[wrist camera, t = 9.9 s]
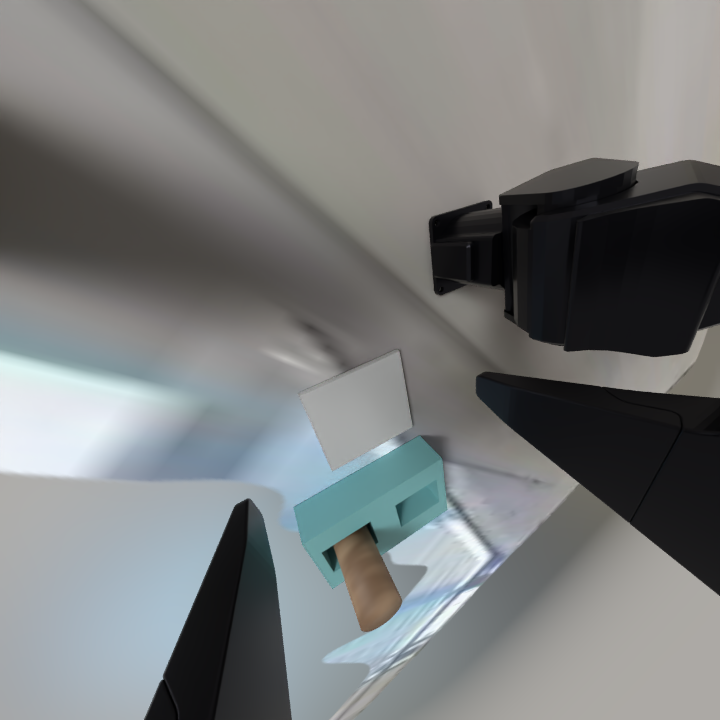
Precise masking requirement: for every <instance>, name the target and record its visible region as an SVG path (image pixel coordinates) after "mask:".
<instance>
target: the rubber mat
mask: <svg viewBox="0 0 720 720" xmlns="http://www.w3.org/2000/svg"><path fill="white" fill-rule="evenodd" d="M298 395H299V397H300V400H301V402H302V404H303V406H304V409H305V411H306V413H307V415H308V418H309V420H310V422H311V424H312V427H313V429H314V431H315V434H316V436H317V438H318V440H319V443H320V445H321V447H322V449H323V452H324V454H325V456H326V458H327V461H328V463H329V465H330V468H331V470H332V471H334V470H336V469H338V468H339V467H341V466H343V465H345V464H347V463H348V462H350V461H352V460H354V459H356V458H357V457H359V456H361V455H363V454H365V453H366V452H368V451H370V450H372V449H374V448H375V447H377V446H379V445H381V444H383V443H384V442H386V441H388V440H390V439H392V438H394V437H395V436H397V435H399V434H401V433H403V432H404V431H406V430H408V429H410V428H412V427H413V426H412V421H411V415H410V409H409V403H408V397H407V392H406V386H405V380H404V374H403V368H402V362H401V357H400V351H399V350H397V349H396V350H394V351H392V352H389V353H387V354H385V355H383V356H381V357H378V358H376V359H374V360H372V361H369V362H367V363H365V364H363V365H360V366H358V367H356V368H354V369H351V370H349V371H347V372H345V373H342V374H340V375H338V376H336V377H334V378H331V379H329V380H327V381H325V382H322V383H320V384H318V385H316V386H313V387H311V388H309V389H307V390H304V391H302V392H300V393H298Z"/></svg>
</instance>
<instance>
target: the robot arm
mask: <svg viewBox="0 0 720 720" xmlns="http://www.w3.org/2000/svg"><path fill="white" fill-rule="evenodd" d="M638 165H639V162H636V161H625V160H614V159H602V158H591V159H587V160H583V161H580V162H577V163H573V164H570V165H566V166H563V167H559V168H556V169H553V170H550V171H547V172H545V173H543V174H541V175H539V176H537V177H535V178H533V179H531V180H529V181H527V182H525V183H523V184H521V185H519V186H517V187H515V188H513V189H511V190H509V191H506V192H504V193H502V194H500V195H499V205H501V208H495V209H492V202H491V201H490V200H488V201H483V202H480V203H476V204H473V205H470V206H466V207H463V208H459V209H456V210H453V211H449V212H446V213H443V214H439V215H436V216H433V217H431V219H430V221H429V232H430V244H431V257H432V269H433V280H434V291H435V293H436V294H438V295H443V294H445V293H448V292H450V291H453V290H455V289H458V288H460V287H463V286H465V285H474V286H480V287H486V288H493V289H499V290H505V310H504V317H505V318H507V319H508V320H510V321H511V322H513V323H515V324H516V325H517V326H518V327H520V328H521V329H523V330H524V331H526V332H528V333H529V337H530V338H532V339H534V340H537V341H541V342H544V343H549V344H553V345H559V346H564V351H567V352H570V351H581V350H608V351H617V352H624V353H631V354H637V355H644V356H650V357H660V356H669V355H677V354H683V353H686V352H688V351H689V349H690V347H691V345H692V342H693V340H694V338H695V335H696V333H697V331H699V330H703V329H706V328H710V327H713V326H716V325H720V166H717V165H713V164H709V163H704V162H700V161H696V160H685V161H679V162H675V163H670V164H666V165H661V166H657V167H653V168H648V169H644V170H639V171H637V170H638ZM435 220H436V225H435ZM440 287H441V290H440V291H439V289H440ZM476 394H477V396H478V397H479V398H480V399H481V400H482V401H483V402H484V403H485V404H486V405H487V406H488V407H489V408H490V409H491V410H492V411H493V412H494V413H495V414H496V415H497V416H498V417H499V418H500V419H501V420H502V421H503V422H505V423H506V424H507V425H508V426H509V427H510V428H511V429H513V430H514V431H515V432H516V433H518V434H519V435H520V436H521V437H523V438H524V439H525V440H526V441H528V442H529V443H530V444H531V445H533V446H534V447H535V448H536V449H538V450H539V451H540V452H541V453H543V454H544V455H545V456H546V457H548V458H549V459H550V460H551V461H552V462H554V463H555V464H556V465H557V466H559V467H560V468H561V469H562V470H564V471H565V472H566V473H567V474H569V475H570V476H571V477H572V478H574V479H575V480H576V481H577V482H579V483H580V484H581V485H583V486H584V487H585V488H586V489H587V490H589V491H590V492H591V493H592V494H594V495H595V496H596V497H597V498H599V499H600V500H601V501H602V502H604V503H605V504H606V505H607V506H609V507H610V508H611V509H613V510H614V511H615V512H616V513H617V514H619V515H620V516H621V517H622V518H624V519H625V520H626V521H627V522H630V524H631V525H632V526H633V527H635V528H636V529H637V530H638V531H640V532H641V533H642V534H643V535H645V536H646V537H647V538H648V539H649V540H651V541H652V542H653V543H654V544H656V545H657V546H658V547H659V548H661V549H662V550H663V551H664V552H666V553H667V554H668V555H669V556H671V557H672V558H673V559H674V560H676V561H677V562H678V563H679V564H681V565H682V566H683V567H684V568H686V569H687V570H688V571H689V572H691V573H692V574H693V575H694V576H696V577H697V578H698V579H699V580H701V581H702V582H703V583H704V584H706V585H707V586H708V587H709V588H710V589H712V590H713V591H714V592H716V593H717V594H718V595H719V596H720V398H710V397H698V396H686V395H674V394H663V393H652V392H642V391H633V390H624V389H616V388H608V387H600V386H593V385H585V384H578V383H570V382H562V381H554V380H547V379H539V378H531V377H524V376H516V375H508V374H501V373H493V372H483V373H481V374H480V375H478V376H477V377H476ZM285 664H286V663H285V654H284V645H283V636H282V627H281V618H280V609H279V600H278V591H277V583H276V574H275V568H274V564H273V559H272V555H271V550H270V546H269V541H268V537H267V532H266V528H265V523H264V519H263V516H262V514H261V512H260V511H259V509H258V508H257V507H256V506H255V504H254V503H253V501H252V500H251V499H246V500H244V501H242V502H240V503H238V504H236V505H235V507H234V509H233V511H232V513H231V516H230V518H229V521H228V523H227V525H226V527H225V530H224V532H223V535H222V537H221V539H220V542H219V544H218V546H217V549H216V552H215V554H214V556H213V559H212V561H211V563H210V565H209V568H208V570H207V572H206V575H205V577H204V579H203V582H202V585H201V587H200V589H199V592H198V594H197V596H196V598H195V601H194V603H193V606H192V608H191V610H190V613H189V615H188V618H187V620H186V622H185V625H184V627H183V629H182V632H181V634H180V636H179V639H178V641H177V643H176V646H175V648H174V651H173V653H172V655H171V658H170V660H169V662H168V665H167V667H166V669H165V672H164V674H163V680H161V682H160V683H159V686H158V688H157V690H156V693H155V695H154V697H153V700H152V702H151V704H150V707H149V710H148V712H147V714H146V716H145V718H144V720H292V718H291V709H290V700H289V690H288V681H287V672H286V665H285Z"/></svg>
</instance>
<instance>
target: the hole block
mask: <svg viewBox="0 0 720 720" xmlns="http://www.w3.org/2000/svg"><path fill="white" fill-rule="evenodd" d="M446 510H447V502H446V492H445V482H444V472H443V462H442V458H441V457H440V456H439V455H438V454H437V453H436V452H435V451H434V450H433V449H432V448H431V447H430V446H429V445H428V444H427V443H426V442H425V441H424V439H423V438H422V437H421V436H420V435H419V436H418V437H416V438H414V439H412V440H411V441H409V442H407V443H405V444H404V445H402V446H400V447H398V448H397V449H395V450H393V451H391V452H390V453H388V454H386V455H384V456H383V457H381V458H379V459H377V460H376V461H374V462H372V463H370V464H369V465H367V466H365V467H363V468H362V469H360V470H358V471H356V472H355V473H353V474H351V475H349V476H348V477H346V478H344V479H342V480H341V481H339V482H337V483H335V484H334V485H332V486H330V487H328V488H327V489H325V490H323V491H321V492H320V493H318V494H316V495H314V496H313V497H311V498H309V499H307V500H306V501H304V502H302V503H300V504H299V505H297V506H295V507H294V511H295V516H296V520H297V524H298V529H299V533H300V537H301V542H302V545H303V547H304V548H305V550H306V551H307V552H308V554H309V555H310V557H311V558H312V560H313V561H314V563H315V564H316V566H317V567H318V569H319V570H320V571H321V573H322V574H323V576H324V577H325V579H326V580H327V582H328V583H329V585H330V586H331V587H332V589H333V588H335V587H336V586H338V585H339V584H340V583H342V582H344V581H345V580H344V577H343V574H342V571H341V568H340V565H339V562H338V559H337V556H336V553H335V550H334V547H333V545H335V544H336V543H338V542H339V541H341V540H342V539H344V538H346V537H347V536H349V535H350V534H352V533H353V532H355V531H356V530H358V529H360V528H361V527H363V526H364V525H367V527H368V529H369V532H370V534H371V536H372V538H373V540H374V542H375V544H376V546H377V548H378V550H379V553H380V555H383V554H384V553H386V552H387V551H388V550H390V549H391V548H393V547H394V546H396V545H397V544H399V543H400V542H402V541H403V540H404V539H406V538H407V537H409V536H410V535H412V534H413V533H415V532H416V531H417V530H419V529H420V528H422V527H423V526H425V525H426V524H428V523H429V522H431V521H432V520H433V519H435V518H436V517H438V516H439V515H441V514H442V513H444V512H445V511H446Z"/></svg>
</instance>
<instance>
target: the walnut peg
mask: <svg viewBox="0 0 720 720" xmlns="http://www.w3.org/2000/svg"><path fill="white" fill-rule="evenodd" d="M333 547H334V550H335V553H336V556H337V559H338V562H339V565H340V568H341V571H342V574H343V577H344V580H345V582H346V586H347V589H348V591H349V595H350V597H351V600H352V604H353V606H354V610H355V613H356V616H357V619H358V622H359V625H360V628H361V630H362V631H364V632H368V631H372V630H374V629H376V628H378V627H380V626H382V625H383V624H385V623H386V622H387V621H388V620H390V619H391V618H392V617H393V616H394V615H395V613H396V612H397V611H398V610H399V608H400V606H401V604H402V599H401V597H400V594H399V592H398V591H397V588H396V586H395V584H394V582H393V580H392V578H391V576H390V574H389V572H388V570H387V567H386V565H385V563H384V561H383V559H382V557H381V555H380V553H379V550H378V548H377V546H376V544H375V542H374V540H373V538H372V536H371V534H370V532H369V529H368V527H367V525H364V526H363V527H361V528H360V529H358V530H356V531H355V532H353V533H352V534H350V535H349V536H347V537H346V538H344V539H342V540H341V541H339V542H338V543H336V544H335V545H333Z"/></svg>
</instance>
